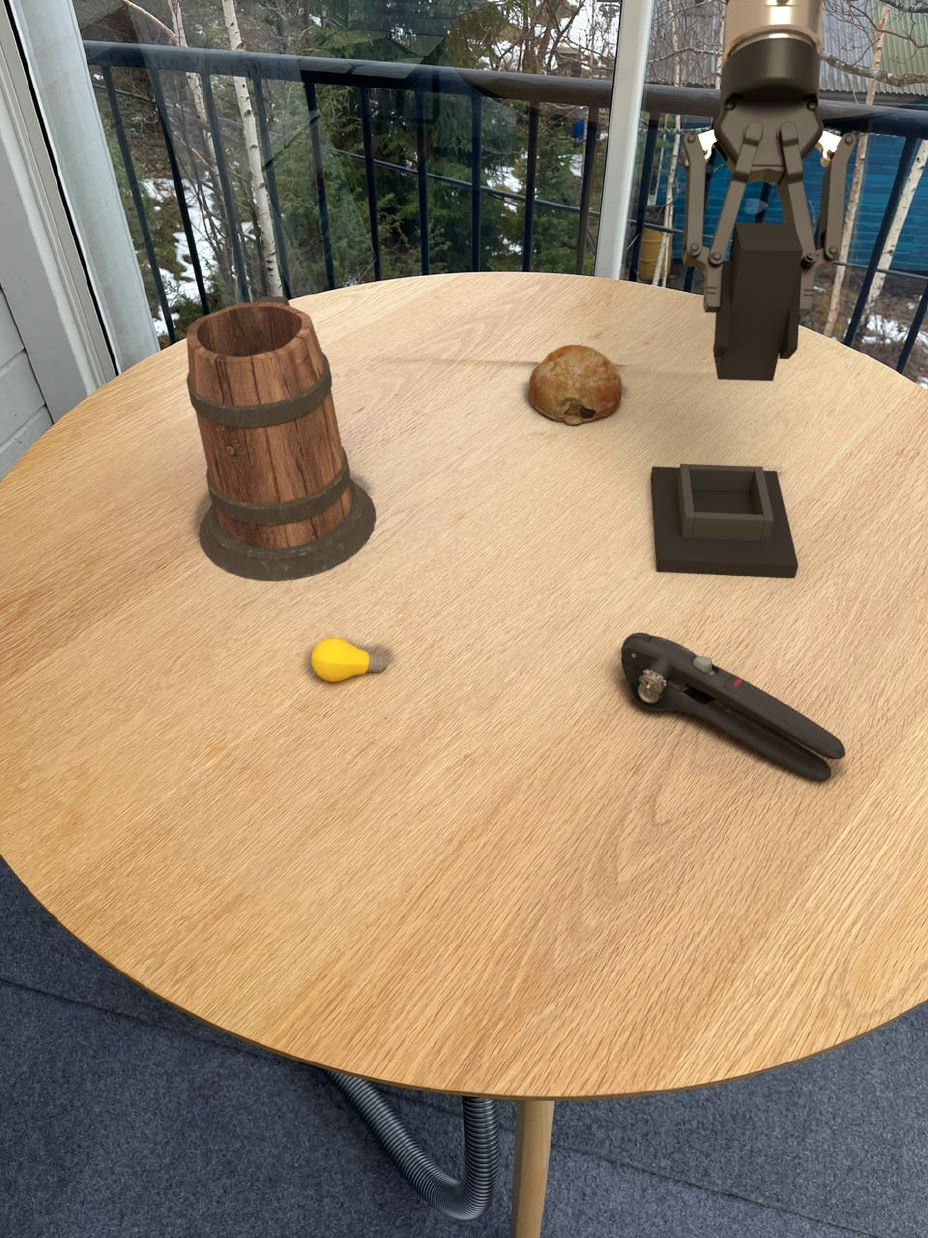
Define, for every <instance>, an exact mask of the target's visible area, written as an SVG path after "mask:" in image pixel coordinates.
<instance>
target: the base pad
mask: <svg viewBox="0 0 928 1238" xmlns="http://www.w3.org/2000/svg"><path fill="white" fill-rule="evenodd" d="M650 491H651V505H652V521H653V536H654V549H655V551H654V552H655V565H656V568H655V569H656V572H657V573H678V574H679V573H681V574H699V575H700V574H702V575H720V576H722V575H723V576H742V577H743V576H744V577H761V578H762V577H764V578H782V579H783V578H785V579H795V578H796V576H797V572H798V568H799V561H798V558H797V554H796V549H795V544H794V540H793V536H792V532H791V527H790V523H789V518H788V513H787V510H786V504H785V501H784V496H783V493H782V488H781V483H780V479H779V474H778V471H777V470H764V467H763V466H757V465H756V466H755V465H754V466H753V465H752V466H750V465H728V464H727V465H726V464H724V465H723V464H700V463H699V464H697V463H689V464H688V463H680V464H679V467H678V466H652V467H651V472H650Z"/></svg>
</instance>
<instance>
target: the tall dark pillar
mask: <svg viewBox="0 0 928 1238" xmlns="http://www.w3.org/2000/svg"><path fill="white" fill-rule="evenodd" d="M731 239H732V240H731V246H730V251H729V255H728V262H727V265H734V266H733V284H732V302H731V324H730V342H729V348H728V350H727V352H726V353H725V355H724V356H723V357H714V356H713V358H714V365H715V371H716V376H717V380H721V381H722V380H724V381H749V382H750V381H754V382H756V381H757V382H774V378H775V374H776V370H777V365H778V362H779V354H780V348H781V344H782V340H783V335H784V331H785V327H786V322H787V318H788V314H789V309H790V306H791V301H792V297H793V293H794V288H795V284H796V280H797V275H798V271H799V267H800V262H801V258H802V254H803V249H802V246H801V243H800V240H799V237H798V235H797V232H796V229H795V226H794V224H785V223H780V222H779V223H777V222H775V223H774V222H773V223H772V222H735V224H734V228H733V232H732V238H731ZM712 353H713V354H714V346H713V347H712Z"/></svg>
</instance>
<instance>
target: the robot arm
mask: <svg viewBox="0 0 928 1238" xmlns="http://www.w3.org/2000/svg"><path fill="white" fill-rule="evenodd" d="M824 1H825V0H725V12H724V13H725V14H724V27H723V28H724V30H723V42H722V55H721V57H722V64H723V67H722V68H721V79H720V80H721V81H720V96H719V98H720V99H719V100H720V101H719V114H718V115H719V116H718V119H717V120H716V122H715V124H714V126H713V129H711V130H709V131H705V132H703V133H699V134H698V133H697V132H696V131H693V130H692V131H691V130H690V131H688V132H686V133H685V135H684V136H683V140H682V143H681V146H680V150H679V158H680V162H681V164H682V167H683V171H684V173H685V189H684V191H685V192H684V213H683V215H684V216H683V217H684V218H683V237H682V263H683V265H684V266H685V267H687V268H691V267H694V268H697V269H699V270H701V272H702V274H703V276H704V282H703V283H704V284H703V300H702V307H703V310H704V313H706V314H707V313H709V314H710V313H713V314H715V325H714V341H713V347H714V353H713V358H714V357H723V356H724V355H725V353H726V352H727V350H728V348H729V342H730V324H731V302H732V284H733V266H734V265H728V264H724V261H725V258H726V254H727V251H728V248H729V245H730V241H731V239H732V236H733V232H734V227H735V223H736V220H737V217H738V214H739V211H740V208H741V204H742V200H743V198H744V194H745V190H746V187H747V184H753V183H758V182H761V181H762V182H766V183H770V184H775V188H776V189H775V190H776V194H777V197H778V198H779V200H780V205H781V209H782V216H783V222H784V224H794V226H795V229H796V232H797V235H798V237H799V240H800V243H801V246H802V249H803V254H802V258H801V262H800V267H799V271H798V275H797V280H796V284H795V288H794V293H793V297H792V301H791V306H790V309H789V314H788V318H787V322H786V327H785V331H784V335H783V340H782V344H781V348H780V353H779V357H778V360H789V359H790V358H792V356H793V355H794V354H795V353H796V352H797V351H798V348H799V347H798V346H799V329H800V328H799V327H800V316H806V315H807V314H808V312H809V311H810V310H811V308H812V306H813V304H814V295H815V294H814V293H815V290H814V289H815V275H816V272H818V271H821V270H822V271H826V270H829V269H830V268H831V267H832V266H833V264H834V263H835V262H836V260H837V259H838V258H839V256H840V255H841V253H842V247H843V246H842V245H843V233H844V214H845V199H846V188H847V187H846V186H847V173H848V172H847V171H848V170H847V169H848V162H849V160H850V158H851V156H852V153H853V152H854V149H855V147H856V144H857V141H858V139H857V136H856V134H854V133H853V132H845V133H844V134H843V135H842V136H839V135H836V134H834V133H831V132H828V131H826V130H824V129H825V128H824V123H823V121H822V120H821V118H820V114H819V97H820V81H821V80H820V79H821V65H822V64H821V62H822V61H821V56H820V53H821V50H822V40H823V19H824V17H823V14H824V13H823V12H824ZM712 149H715V150H716V152H717V153H718V154H719V156H720V158H721V159H722V160H723V162H724V163H725V165H726V166H727V168H728V169H729V171H730V172H731V174H730V178H729V181H728V185H727V188H726V192H725V195H724V199H723V202H722V206H721V209H720V212H719V216H718V219H717V223H716V226H715V229H714V233H713V236H712V239H711V240H712V241H711V243H710V246H709V247H708V246H704V245H703V239H704V237H703V236H704V235H703V234H704V217H705V216H704V214H705V193H706V192H705V191H706V166H707V163H708V162H709V161H710V158H711V155H712ZM815 149H817V151H818V152H819V155H820V156H819V162H820V164H821V167H823V168H825V169H824V172H823V175H822V180H821V193H820V207H819V222H818V238H817V249H816V243H815V238H814V233H813V227H812V221H811V217H810V212H809V206H808V200H807V195H806V189H805V183H804V176H805V175H804V173H805V171H804V166H803V164H804V162H805V161H806V160H807V158H809V156H810V155H811V153H812V152H813V151H814V150H815Z"/></svg>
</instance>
